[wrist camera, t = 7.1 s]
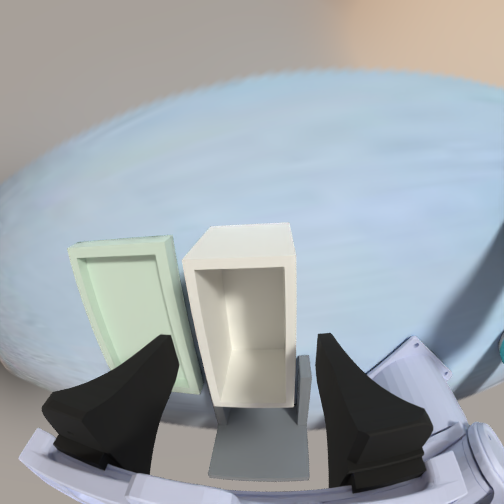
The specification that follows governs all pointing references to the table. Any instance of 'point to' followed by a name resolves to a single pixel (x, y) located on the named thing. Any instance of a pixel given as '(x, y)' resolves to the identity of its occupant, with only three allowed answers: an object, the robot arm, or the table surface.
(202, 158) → the table surface
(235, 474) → the bay
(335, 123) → the table surface
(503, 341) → the beverage can
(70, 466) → the robot arm
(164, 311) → the tray
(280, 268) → the box
